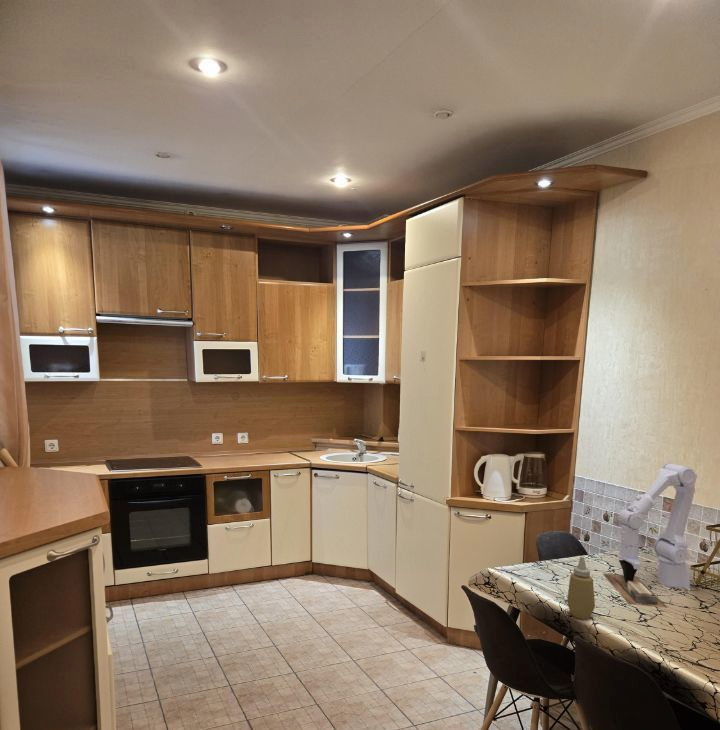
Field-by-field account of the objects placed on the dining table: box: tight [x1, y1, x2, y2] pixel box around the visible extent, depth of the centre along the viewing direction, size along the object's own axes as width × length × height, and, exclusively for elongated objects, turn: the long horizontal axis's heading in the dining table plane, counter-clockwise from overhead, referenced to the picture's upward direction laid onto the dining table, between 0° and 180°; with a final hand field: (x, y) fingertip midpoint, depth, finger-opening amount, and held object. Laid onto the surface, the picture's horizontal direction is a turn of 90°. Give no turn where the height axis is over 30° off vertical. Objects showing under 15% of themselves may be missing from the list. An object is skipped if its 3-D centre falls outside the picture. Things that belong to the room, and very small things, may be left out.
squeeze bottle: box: [566, 556, 596, 620], centre depth 159 cm, size 8×8×18 cm
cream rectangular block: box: [628, 581, 652, 596], centre depth 173 cm, size 4×10×3 cm, turn 172°
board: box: [602, 573, 669, 608], centre depth 179 cm, size 12×26×3 cm, turn 172°
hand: (628, 582), depth 183 cm, fingers closed
